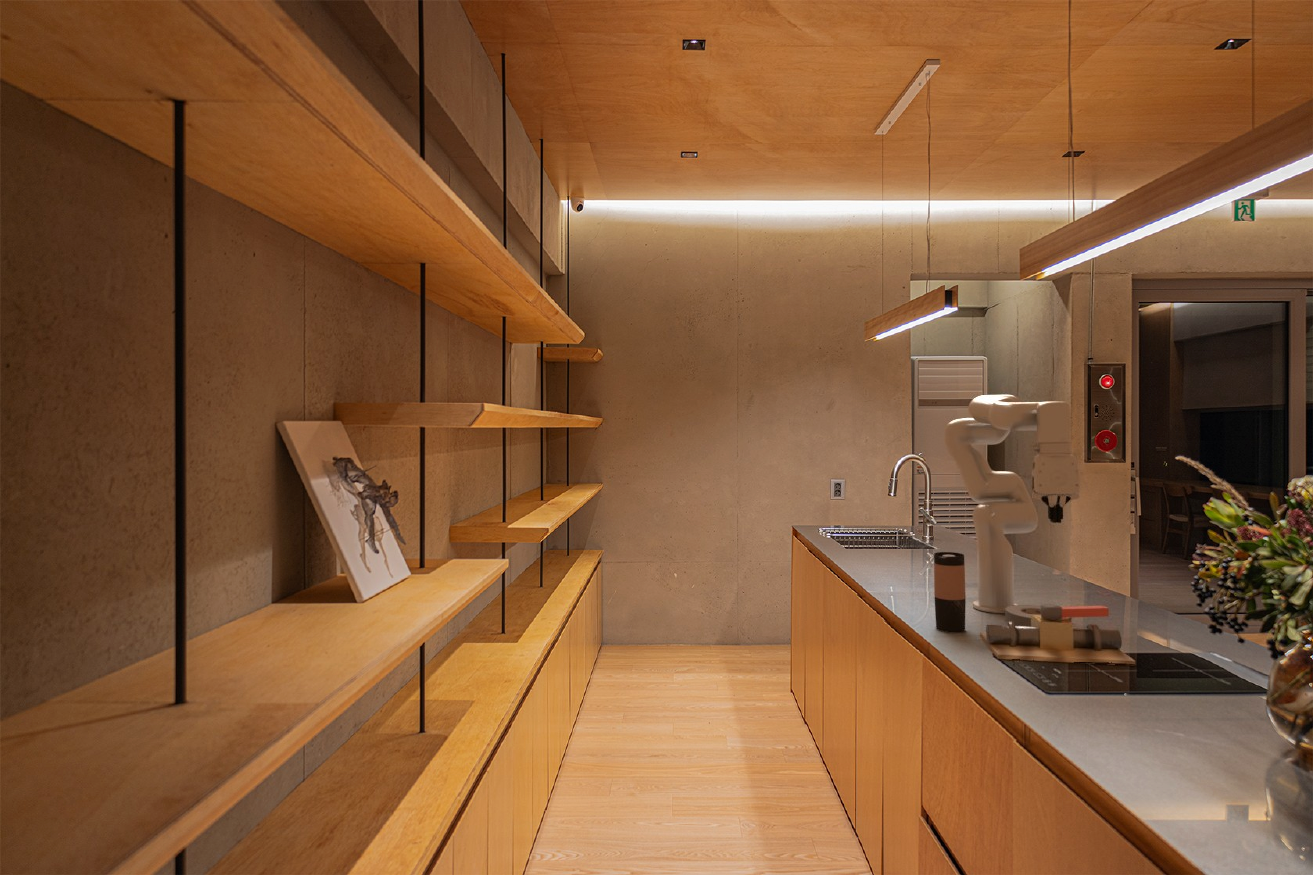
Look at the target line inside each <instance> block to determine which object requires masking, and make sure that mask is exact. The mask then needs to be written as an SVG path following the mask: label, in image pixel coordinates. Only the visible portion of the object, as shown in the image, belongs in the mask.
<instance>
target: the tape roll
mask: <svg viewBox="0 0 1313 875" xmlns="http://www.w3.org/2000/svg"><path fill="white" fill-rule="evenodd" d="M1004 614H1005V615H1004V623H1005V622H1006V621H1013V622H1014V624H1015V626H1031V614H1035V615H1041V605H1035V604H1018V605H1012V606H1008V607H1006V608H1005V613H1004ZM1072 618H1073V617H1067V619H1068V620H1069V621H1071V622H1072V623H1073V621H1072V620H1073V619H1072Z"/></svg>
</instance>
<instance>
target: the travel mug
mask: <svg viewBox="0 0 1313 875" xmlns="http://www.w3.org/2000/svg"><path fill="white" fill-rule="evenodd" d="M933 563H934V564H933V573H934V574H933V580H934V581H933V582H934V583H933V584H934V593H933V594H934V610H935V611H934V612H935V614H934V615H935V629H937V630H938V631H940V632H944V633H949V634H951V633H952V634H959V633H963V632H965V631H966V607H967V606H966V604H967V602H966V600H967V599H966V596H967V595H966V571H965V570H966V568H965V567H966V566H965V565H966V564H965V554H963V553H962V552H961V553H959V552H953V551H940V552H939V551H938V552H934V554H933Z"/></svg>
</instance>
